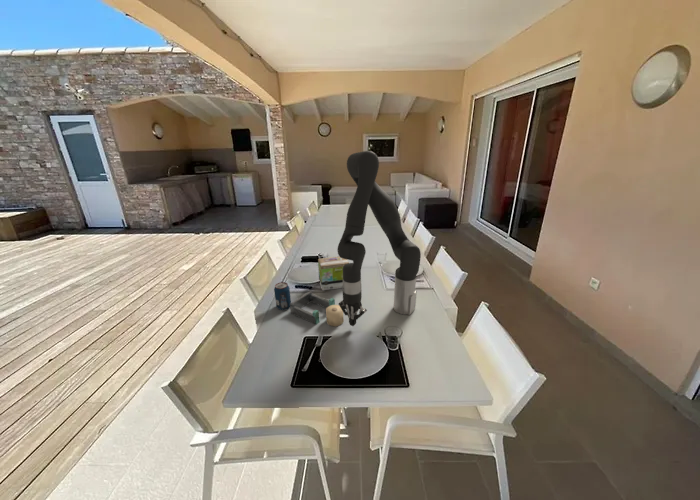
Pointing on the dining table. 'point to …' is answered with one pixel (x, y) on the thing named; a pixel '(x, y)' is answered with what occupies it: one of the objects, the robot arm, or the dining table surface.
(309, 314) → the holder
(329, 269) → the tea box
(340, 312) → the beige round fruit
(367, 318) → the dining table surface
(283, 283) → the soda can
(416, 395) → the dining table surface
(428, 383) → the dining table surface
